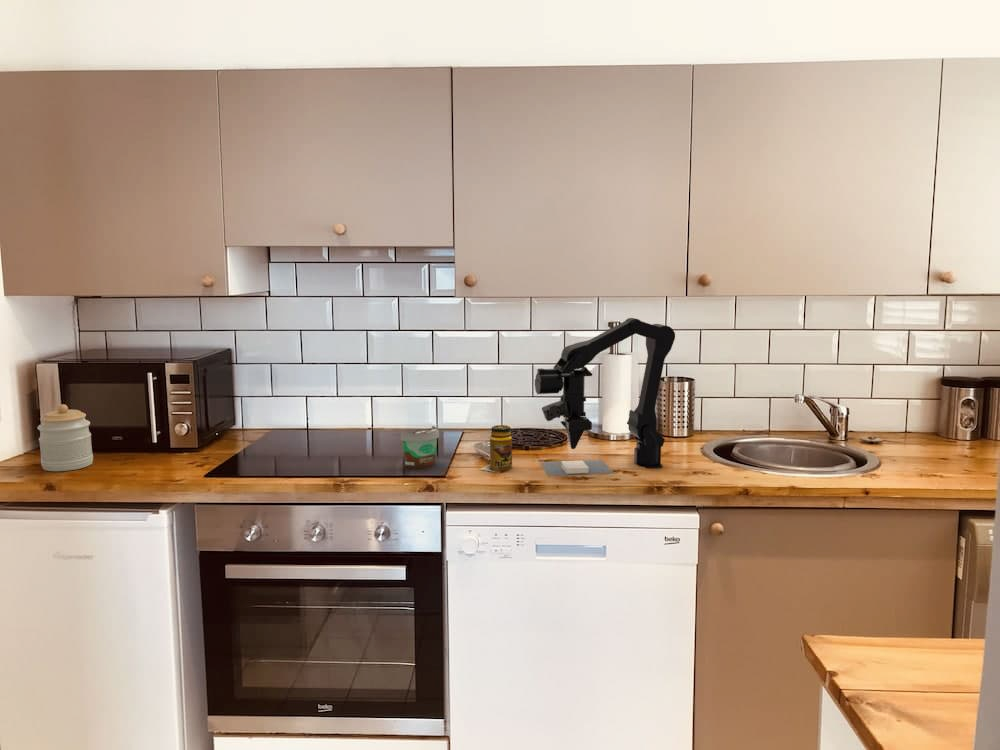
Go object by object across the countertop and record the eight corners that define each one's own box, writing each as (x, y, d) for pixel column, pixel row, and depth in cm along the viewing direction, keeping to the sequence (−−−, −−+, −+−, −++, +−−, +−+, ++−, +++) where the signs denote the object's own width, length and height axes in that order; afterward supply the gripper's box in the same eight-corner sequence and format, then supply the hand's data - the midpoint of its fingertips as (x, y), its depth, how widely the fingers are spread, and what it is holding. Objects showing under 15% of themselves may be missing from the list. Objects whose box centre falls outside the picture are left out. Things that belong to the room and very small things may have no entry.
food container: (416, 472, 216) (415, 436, 214) (401, 467, 220) (400, 432, 219) (448, 463, 225) (448, 428, 223) (434, 459, 229) (433, 425, 228)
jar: (104, 461, 228) (99, 401, 225) (68, 473, 215) (62, 410, 213) (67, 458, 231) (61, 398, 228) (30, 470, 219) (23, 407, 216)
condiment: (505, 474, 214) (505, 430, 212) (478, 469, 218) (478, 427, 216) (518, 467, 220) (518, 425, 218) (492, 463, 224) (491, 422, 222)
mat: (601, 461, 226) (601, 460, 226) (614, 475, 212) (614, 473, 212) (539, 464, 224) (539, 462, 223) (548, 477, 210) (548, 475, 210)
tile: (582, 460, 219) (588, 467, 212) (582, 466, 219) (588, 473, 212) (561, 461, 218) (566, 468, 211) (561, 467, 218) (566, 474, 211)
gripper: (538, 387, 222) (538, 441, 225) (550, 399, 204) (549, 458, 206) (577, 386, 223) (576, 440, 226) (592, 398, 205) (591, 457, 208)
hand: (573, 448), depth 216 cm, fingers closed
